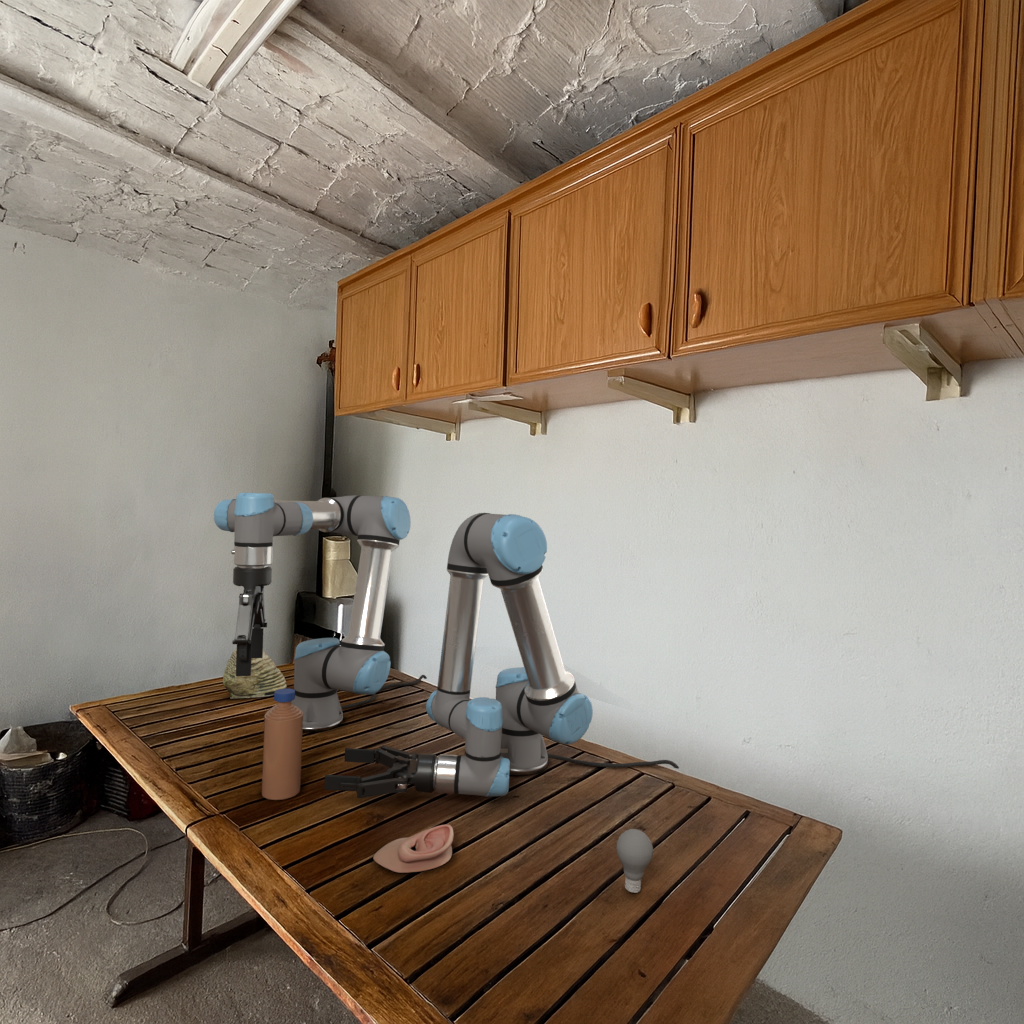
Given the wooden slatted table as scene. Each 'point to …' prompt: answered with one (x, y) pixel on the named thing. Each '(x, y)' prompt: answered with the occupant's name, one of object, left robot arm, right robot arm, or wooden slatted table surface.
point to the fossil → (253, 678)
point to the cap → (284, 695)
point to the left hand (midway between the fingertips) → (249, 666)
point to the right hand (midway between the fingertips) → (335, 767)
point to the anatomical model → (417, 851)
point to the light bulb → (634, 857)
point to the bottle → (282, 751)
